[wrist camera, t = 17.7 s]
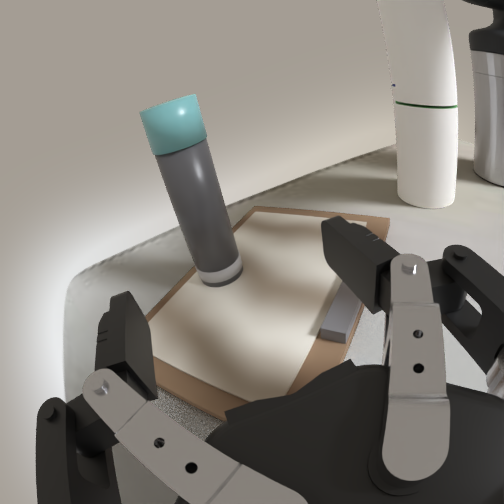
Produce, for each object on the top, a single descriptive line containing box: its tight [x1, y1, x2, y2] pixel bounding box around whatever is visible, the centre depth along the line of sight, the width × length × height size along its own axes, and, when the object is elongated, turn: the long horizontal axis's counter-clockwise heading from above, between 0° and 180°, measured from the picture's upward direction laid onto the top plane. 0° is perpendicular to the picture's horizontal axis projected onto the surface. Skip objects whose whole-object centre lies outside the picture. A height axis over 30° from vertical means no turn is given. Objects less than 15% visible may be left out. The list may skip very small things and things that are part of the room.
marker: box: [140, 94, 243, 287], centre depth 21 cm, size 4×4×14 cm
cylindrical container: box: [376, 0, 458, 209], centre depth 24 cm, size 7×7×25 cm
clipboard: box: [145, 206, 390, 422], centre depth 23 cm, size 22×15×2 cm
